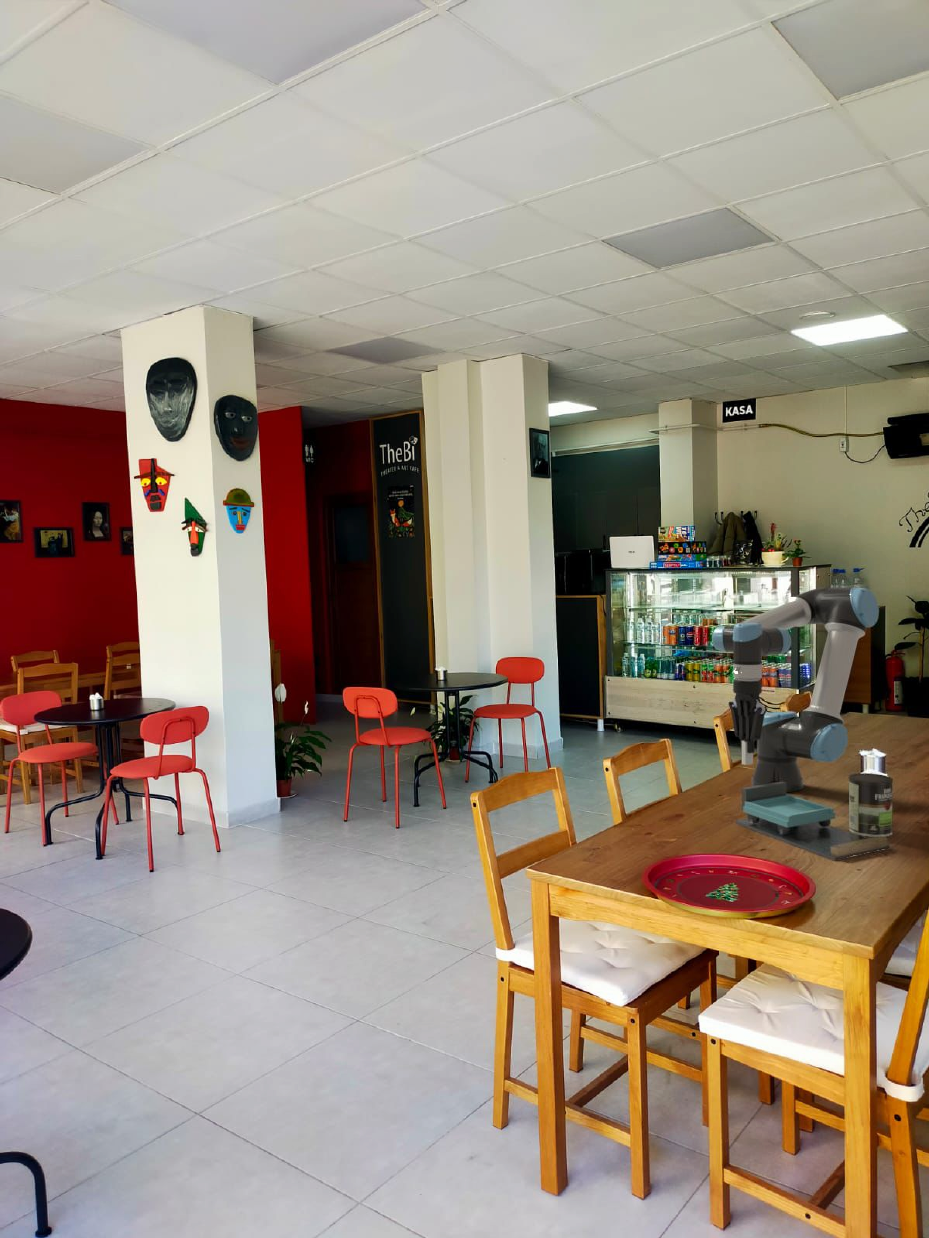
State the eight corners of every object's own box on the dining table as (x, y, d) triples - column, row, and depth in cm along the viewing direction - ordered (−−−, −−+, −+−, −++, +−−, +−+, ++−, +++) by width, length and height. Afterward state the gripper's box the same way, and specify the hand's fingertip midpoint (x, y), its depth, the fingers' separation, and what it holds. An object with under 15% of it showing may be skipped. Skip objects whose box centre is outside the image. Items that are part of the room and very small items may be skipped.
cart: (739, 819, 239) (738, 788, 238) (785, 811, 245) (784, 780, 244) (787, 837, 222) (787, 803, 222) (835, 828, 229) (835, 795, 228)
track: (735, 823, 239) (735, 813, 238) (786, 814, 246) (786, 804, 246) (834, 860, 207) (834, 849, 207) (890, 848, 215) (890, 837, 214)
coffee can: (901, 833, 226) (901, 778, 225) (874, 840, 221) (874, 784, 221) (866, 823, 235) (866, 770, 234) (839, 829, 231) (839, 776, 230)
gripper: (720, 677, 249) (720, 760, 250) (753, 682, 237) (753, 770, 238) (741, 675, 252) (741, 758, 253) (775, 680, 240) (774, 767, 241)
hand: (747, 763), depth 246 cm, fingers closed
